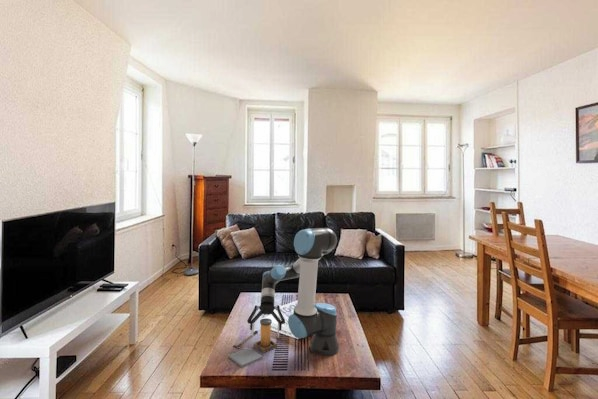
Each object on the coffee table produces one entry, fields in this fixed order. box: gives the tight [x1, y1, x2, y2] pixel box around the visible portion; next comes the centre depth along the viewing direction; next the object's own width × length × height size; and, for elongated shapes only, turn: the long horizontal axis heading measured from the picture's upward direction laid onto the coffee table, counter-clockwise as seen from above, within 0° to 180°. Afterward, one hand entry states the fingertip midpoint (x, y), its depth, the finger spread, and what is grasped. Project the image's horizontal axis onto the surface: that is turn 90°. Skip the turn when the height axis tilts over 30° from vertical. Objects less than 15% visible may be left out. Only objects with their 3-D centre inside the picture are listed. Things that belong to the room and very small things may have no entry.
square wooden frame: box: [253, 340, 278, 353], centre depth 171 cm, size 9×9×2 cm
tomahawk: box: [232, 330, 259, 350], centre depth 178 cm, size 21×7×1 cm, turn 153°
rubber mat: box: [228, 347, 264, 368], centre depth 160 cm, size 12×12×1 cm
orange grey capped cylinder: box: [259, 318, 272, 349], centre depth 171 cm, size 6×6×14 cm
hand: (265, 336), depth 169 cm, fingers open, 13 cm apart
